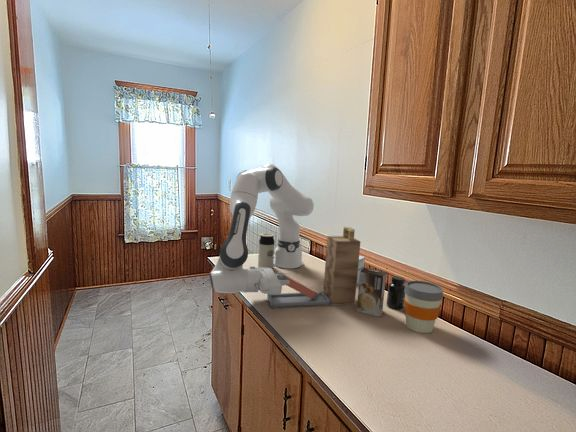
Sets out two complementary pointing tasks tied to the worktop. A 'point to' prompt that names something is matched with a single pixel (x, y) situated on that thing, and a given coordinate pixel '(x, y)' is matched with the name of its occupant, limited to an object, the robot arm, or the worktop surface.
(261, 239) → the travel mug
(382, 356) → the worktop surface
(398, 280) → the supplement bottle
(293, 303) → the tray
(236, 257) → the robot arm
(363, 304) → the coffee box
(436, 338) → the worktop surface
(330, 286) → the tall wooden block
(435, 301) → the reusable coffee cup
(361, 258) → the supplement box
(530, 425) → the worktop surface
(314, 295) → the bar
